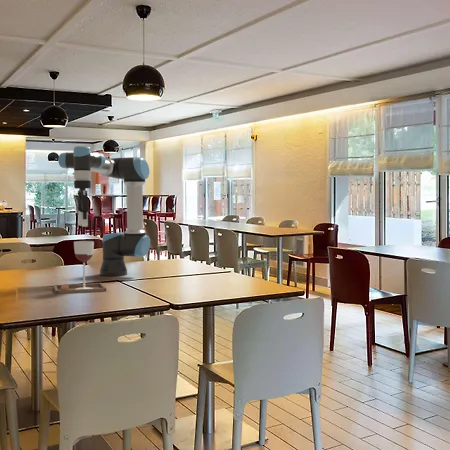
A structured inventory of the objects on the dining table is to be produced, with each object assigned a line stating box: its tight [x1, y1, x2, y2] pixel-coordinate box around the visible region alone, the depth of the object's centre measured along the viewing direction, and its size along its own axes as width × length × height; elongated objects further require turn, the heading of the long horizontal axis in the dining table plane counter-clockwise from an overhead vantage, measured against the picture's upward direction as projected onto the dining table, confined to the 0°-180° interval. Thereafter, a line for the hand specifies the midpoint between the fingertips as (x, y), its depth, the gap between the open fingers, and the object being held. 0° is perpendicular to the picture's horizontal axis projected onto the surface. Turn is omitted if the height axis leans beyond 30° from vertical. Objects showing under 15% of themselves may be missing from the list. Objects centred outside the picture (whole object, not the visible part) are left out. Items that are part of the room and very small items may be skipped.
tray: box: [53, 282, 107, 295], centre depth 265 cm, size 22×16×2 cm
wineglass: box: [73, 240, 95, 289], centre depth 267 cm, size 9×10×22 cm
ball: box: [61, 283, 69, 290], centre depth 259 cm, size 4×4×4 cm
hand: (83, 225), depth 268 cm, fingers open, 13 cm apart
